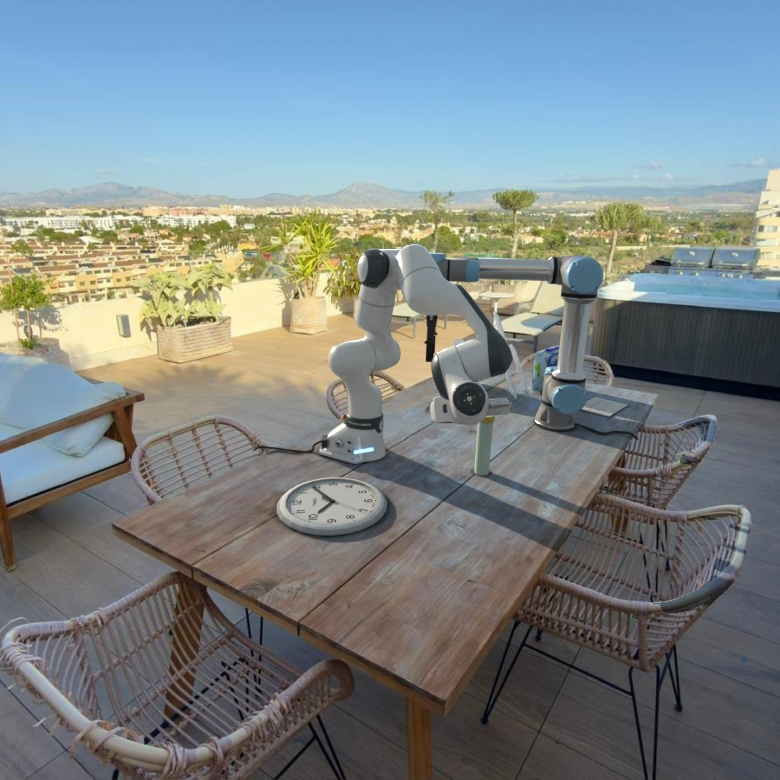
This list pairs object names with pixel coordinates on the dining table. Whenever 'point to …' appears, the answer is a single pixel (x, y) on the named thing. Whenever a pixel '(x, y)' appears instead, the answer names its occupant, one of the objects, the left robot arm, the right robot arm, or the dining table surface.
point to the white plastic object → (515, 358)
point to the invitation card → (603, 406)
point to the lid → (488, 419)
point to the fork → (429, 405)
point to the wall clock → (331, 506)
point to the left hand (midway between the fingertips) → (469, 412)
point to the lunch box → (543, 366)
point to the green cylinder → (483, 448)
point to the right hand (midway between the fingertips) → (430, 357)
